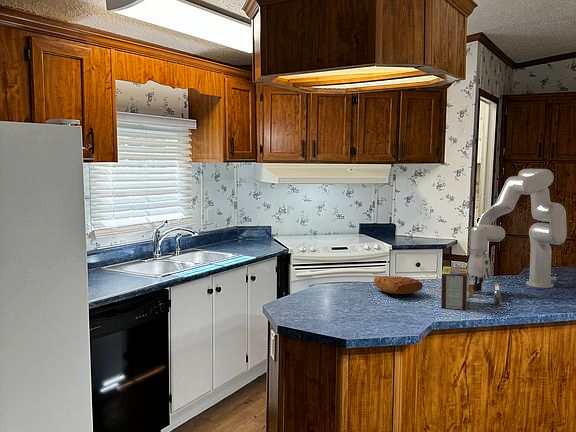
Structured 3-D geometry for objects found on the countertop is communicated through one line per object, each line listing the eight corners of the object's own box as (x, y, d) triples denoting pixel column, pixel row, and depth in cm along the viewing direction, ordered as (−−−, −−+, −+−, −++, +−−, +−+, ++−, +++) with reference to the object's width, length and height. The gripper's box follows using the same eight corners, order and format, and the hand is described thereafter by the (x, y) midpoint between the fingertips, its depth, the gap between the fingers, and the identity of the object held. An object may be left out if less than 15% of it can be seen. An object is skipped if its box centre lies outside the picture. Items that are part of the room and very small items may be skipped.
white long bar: (499, 302, 230) (499, 290, 230) (494, 301, 231) (495, 290, 230) (498, 294, 243) (498, 283, 243) (494, 294, 244) (494, 283, 243)
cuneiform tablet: (425, 297, 240) (425, 280, 239) (392, 301, 234) (393, 283, 234) (400, 286, 261) (400, 271, 260) (370, 289, 255) (370, 273, 254)
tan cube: (471, 290, 252) (471, 282, 252) (478, 292, 248) (478, 284, 247) (464, 291, 250) (464, 283, 250) (470, 293, 246) (471, 285, 246)
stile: (468, 295, 243) (468, 282, 242) (472, 296, 240) (473, 284, 239) (463, 295, 242) (464, 283, 241) (468, 297, 239) (468, 284, 238)
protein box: (466, 301, 233) (467, 267, 231) (466, 310, 218) (467, 274, 217) (442, 299, 236) (443, 266, 235) (440, 308, 222) (441, 273, 220)
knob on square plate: (496, 301, 231) (497, 288, 231) (505, 304, 227) (506, 291, 226) (488, 303, 229) (488, 289, 229) (497, 305, 225) (497, 292, 224)
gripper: (497, 254, 238) (495, 293, 240) (473, 249, 251) (472, 286, 253) (485, 255, 235) (483, 295, 237) (461, 250, 248) (460, 288, 250)
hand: (477, 290), depth 245 cm, fingers closed
